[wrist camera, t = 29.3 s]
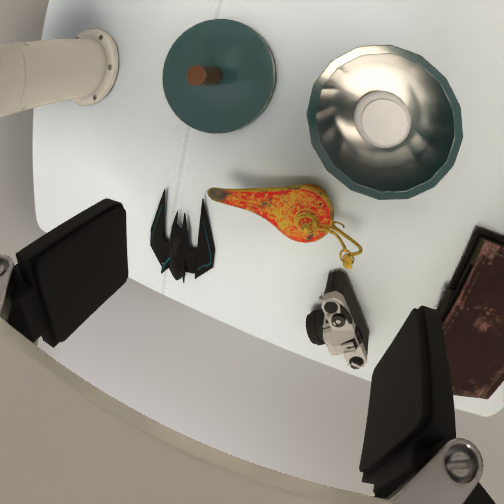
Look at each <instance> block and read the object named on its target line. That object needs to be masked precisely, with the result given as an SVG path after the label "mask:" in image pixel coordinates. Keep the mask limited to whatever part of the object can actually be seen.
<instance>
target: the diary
mask: <svg viewBox="0 0 504 504" xmlns="http://www.w3.org/2000/svg"><path fill="white" fill-rule="evenodd" d="M437 311H439V313H440V316H441V321H442V327H443V332H444V338H445V344H446V350H447V357H448V363H449V366H450V373H451V381H452V390H453V395H458V396H466V397H475V398H479V397H480V398H482V399H488V398H489V397H490V396H491V395H492V394H493V393H494V392H495V390H496V389H497V388H498V387H499V386H500V384H501V383H502V382H503V381H504V236H502V235H499V234H496V233H493V232H491V231H488V230H485V229H482V228H477V229H476V231H475V232H474V234H473V237H472V239H471V241H470V243H469V246H468V248H467V250H466V252H465V254H464V256H463V258H462V261H461V263H460V265H459V267H458V269H457V271H456V273H455V275H454V278H453V280H452V282H451V284H450V286H449V288H447V289H446V293H445V296H444V298H443V300H442V302H441V304H440V306H439V308H438V309H437Z"/></svg>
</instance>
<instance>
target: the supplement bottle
mask: <svg viewBox="0 0 504 504" xmlns="http://www.w3.org/2000/svg"><path fill="white" fill-rule="evenodd" d="M354 123H355V127H356V129H357V131H358V133H359V135H360V136H361V137H362V138H363V139H364V140H365V141H366V142H368V143H369V144H371V145H373V146H376V147H380V148H390V147H394V146H396V145H398V144H400V143H401V142H402V141H404V139H405V138H406V137H407V135H408V134H409V131H410V128H411V115H410V112H409V109H408V107H407V106H406V104H405V103H404V102H403V100H402V99H401V98H399V97H398V96H397V95H395V94H393V93H391V92H388V91H383V90H375V91H370V92H368V93H366V94H364V95H363V96H362V97H361V98H360V100H359V101H358V103H357V105H356V108H355V111H354Z"/></svg>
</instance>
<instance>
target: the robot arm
mask: <svg viewBox="0 0 504 504" xmlns="http://www.w3.org/2000/svg"><path fill="white" fill-rule="evenodd" d="M118 62H119V57H118V50H117V47H116V44H115V42H114V40H113V39H112V37H111V36H110V35H109V34H108V33H106V32H105V31H102V30H97V29H90V30H86V31H83V32H82V33H80V34H78V35H77V36H76V37H75V38H74V39H55V40H40V41H28V42H19V43H10V44H3V45H0V117H3V116H6V115H10V114H13V113H16V112H20V111H24V110H27V109H31V108H35V107H39V106H43V105H47V104H51V103H56V102H60V101H65V100H69V99H71V100H72V101H73V102H75V103H76V104H78V105H82V106H87V105H92V104H95V103H98V102H100V101H101V100H102V99H103V98H105V96H106V95H107V94H108V93H109V91H110V90H111V88H112V86H113V84H114V82H115V79H116V76H117V72H118ZM16 257H17V261H18V264H16V265H15V266H14V263H13V260H12V258H10V257H9V256H7V255H0V504H495V502H494V501H493V500H492V498H491V497H490V496H489V495H488V493H487V492H486V491H485V489H484V488H483V487H482V486H481V484H480V483H479V480H480V478H481V476H482V472H483V459H482V456H481V454H480V451H479V450H478V449H477V447H476V446H475V445H474V444H473V443H471V442H470V441H468V440H466V439H462V438H456V428H455V412H454V400H453V390H452V381H451V373H450V366H449V363H448V357H447V350H446V344H445V338H444V332H443V327H442V321H441V316H440V313H439V311H437V310H434V309H431V308H428V307H425V306H421V307H419V309H416V308H414V309H413V310H412V311H411V313H410V314H409V316H408V318H407V319H406V321H405V323H404V324H403V326H402V328H401V329H400V331H399V332H398V334H397V335H396V337H395V339H394V340H393V342H392V343H391V345H390V346H389V348H388V349H387V351H386V352H385V354H384V355H383V357H382V358H381V360H380V361H379V363H378V364H377V366H376V367H375V369H374V372H373V375H372V381H371V391H370V400H369V408H368V416H367V423H366V430H365V437H364V444H363V449H362V455H361V461H360V466H359V470H360V472H363V478H362V482H365V483H370V484H374V489H373V492H374V494H373V495H372V496H368V495H363V494H360V493H355V492H351V491H346V490H342V489H338V488H333V487H329V486H326V485H322V484H318V483H314V482H311V481H307V480H304V479H300V478H297V477H294V476H290V475H287V474H283V473H281V472H277V471H274V470H271V469H268V468H265V467H262V466H259V465H256V464H254V463H251V462H248V461H245V460H242V459H240V458H237V457H235V456H232V455H229V454H227V453H224V452H222V451H219V450H217V449H214V448H212V447H210V446H208V445H205V444H203V443H201V442H198V441H196V440H194V439H192V438H189V437H187V436H185V435H183V434H181V433H179V432H176V431H174V430H172V429H170V428H168V427H166V426H164V425H162V424H160V423H158V422H156V421H154V420H152V419H150V418H148V417H147V416H145V415H143V414H141V413H139V412H137V411H135V410H134V409H132V408H130V407H128V406H127V405H125V404H123V403H121V402H119V401H118V400H116V399H115V398H113V397H111V396H109V395H108V394H106V393H105V392H103V391H101V390H100V389H98V388H96V387H95V386H93V385H92V384H90V383H89V382H87V381H85V380H84V379H82V378H81V377H79V376H78V375H76V374H75V373H73V372H72V371H70V370H69V369H67V368H66V367H64V366H63V365H62V364H60V363H59V362H57V361H56V360H55V359H53V358H52V357H51V356H49V355H48V354H46V353H45V352H44V351H42V350H41V349H40V348H38V347H37V343H38V338H39V337H40V336H42V338H43V341H45V342H46V343H48V344H49V345H50V346H52V347H53V348H54V347H55V346H56V345H57V344H58V343H59V342H63V341H65V340H66V339H67V338H68V337H69V336H70V335H71V334H72V333H73V332H74V331H75V330H76V329H77V328H78V327H79V326H80V325H81V324H82V323H83V322H84V321H85V320H86V319H87V318H88V317H89V316H90V315H91V314H93V313H94V312H95V311H96V310H97V309H98V308H99V307H100V306H101V305H102V304H103V303H104V302H105V301H106V300H107V299H108V298H109V297H110V296H111V295H113V294H114V293H115V292H116V291H117V290H118V289H119V288H120V287H121V286H122V285H123V284H124V283H125V282H126V280H127V278H128V260H127V235H126V211H125V209H124V208H123V205H122V204H121V203H120V202H117V201H114V200H111V199H107V198H106V199H104V200H102V201H100V202H98V203H96V204H95V205H93V206H91V207H89V208H88V209H86V210H84V211H83V212H81V213H79V214H77V215H76V216H74V217H72V218H71V219H69V220H67V221H66V222H64V223H62V224H61V225H59V226H58V227H56V228H54V229H53V230H51V231H50V232H48V233H46V234H45V235H43V236H42V237H40V238H39V239H37V240H36V241H34V242H33V243H31V244H29V245H28V246H26V247H25V248H23V249H22V250H20V251H19V252H17V253H16Z"/></svg>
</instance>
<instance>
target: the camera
mask: <svg viewBox="0 0 504 504" xmlns="http://www.w3.org/2000/svg"><path fill="white" fill-rule="evenodd" d="M319 300H320V301H322V306H321V307H322V308H321V310H315V311H312V312H311V313H310V314H308V315H307V318H306V330H307V334H308V337H309V339H310V341H311V342H312V343H313V344H317V345H323V344H326V346H327V348H328V350H329V352H330V354H331V355H339V354H342V353H343V355H344V357H345V359H346V361H347V363H348V365H349V366H350V367H352V368H353V369H359V368H360V367H364V366H365V364H366V362H367V354H368V352H367V351H368V339H369V328H368V325H367V323H366V320H365V317H364V315H363V312H362V309H361V307H360V304H359V302H358V299H357V297H356V294H355V292H354V289H353V287H352V284H351V282H350V279H349V277H348V275H347V272H345V271H344V270H342V269H341V268H340V269H336V270H333V271H330V272H329V275H328V281H327V285H326V289H325V292H324V296H322V294H321V296H320V297H319Z"/></svg>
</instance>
